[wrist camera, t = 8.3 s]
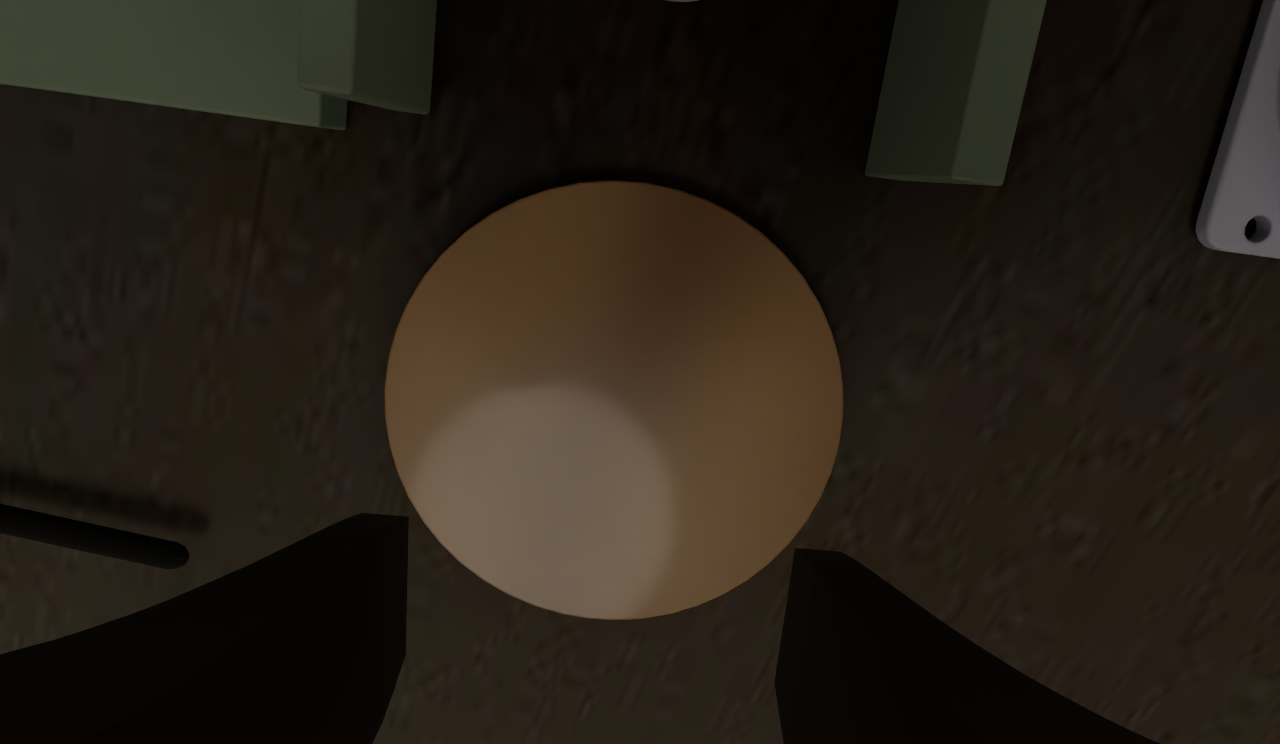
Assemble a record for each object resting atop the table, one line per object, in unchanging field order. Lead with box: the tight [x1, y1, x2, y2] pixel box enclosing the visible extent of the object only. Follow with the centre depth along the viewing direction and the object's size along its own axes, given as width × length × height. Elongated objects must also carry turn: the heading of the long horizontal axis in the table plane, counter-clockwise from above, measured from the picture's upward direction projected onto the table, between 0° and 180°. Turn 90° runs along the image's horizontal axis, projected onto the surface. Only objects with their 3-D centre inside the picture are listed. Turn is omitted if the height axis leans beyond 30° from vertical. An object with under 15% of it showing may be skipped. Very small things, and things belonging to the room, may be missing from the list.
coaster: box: [385, 180, 843, 620], centre depth 17 cm, size 10×10×1 cm
